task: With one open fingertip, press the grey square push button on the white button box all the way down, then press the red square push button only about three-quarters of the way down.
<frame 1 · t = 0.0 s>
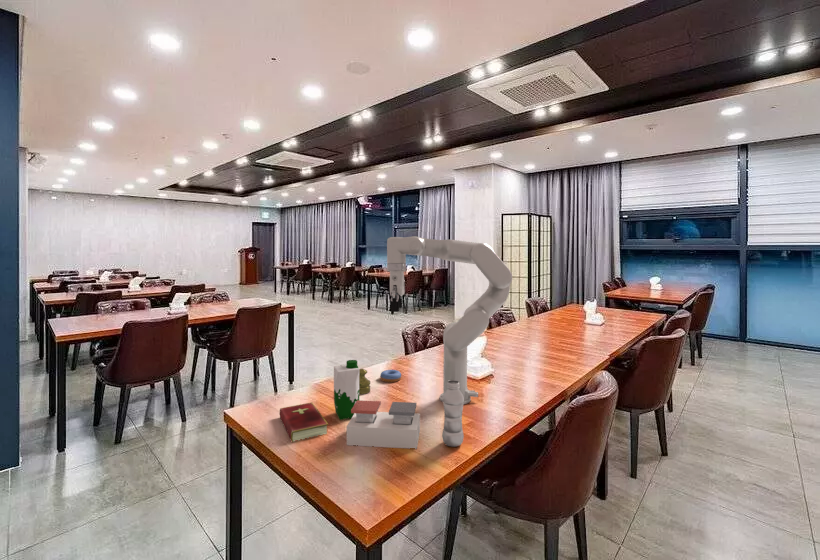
hand: (396, 309, 157), 37 cm above the table, tool pointing down, fingers open, 9 cm apart
red square push button: (366, 415, 125), point 7 cm above the table, slide at 0.0 cm
white button box: (384, 437, 125), on the table
doughnut: (390, 380, 183), on the table
gold rounded piece: (361, 392, 167), on the table
plastic bottle: (452, 444, 121), on the table
hardcover book: (302, 427, 134), on the table
milk carton: (346, 415, 143), on the table
grey square push button: (403, 416, 124), point 7 cm above the table, slide at 0.0 cm
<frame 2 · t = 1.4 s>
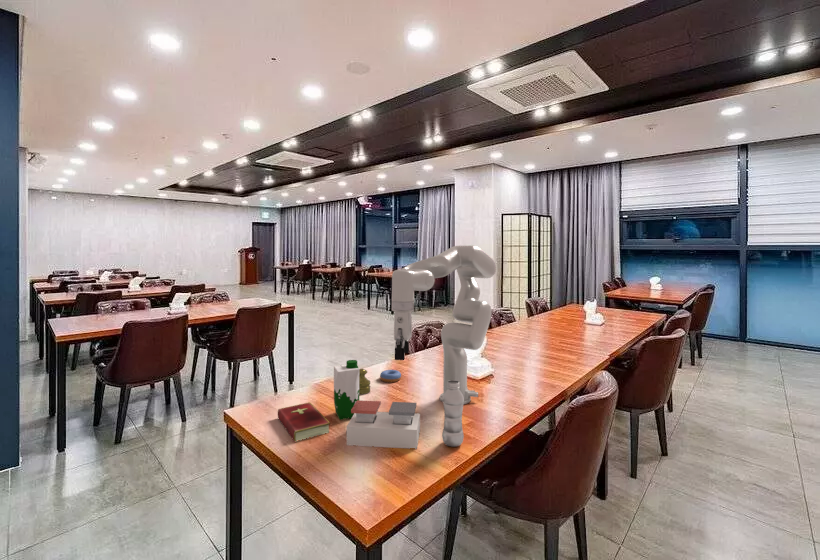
hand: (401, 356, 131), 25 cm above the table, tool pointing down, fingers open, 9 cm apart
nothing on the table moved.
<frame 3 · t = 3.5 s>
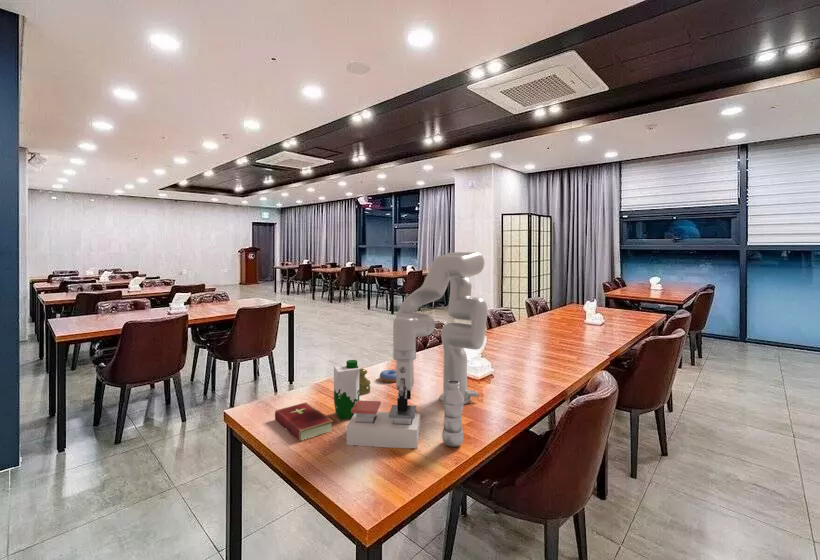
hand: (404, 404, 129), 9 cm above the table, tool pointing down, fingers open, 9 cm apart
grey square push button: (403, 419, 124), point 6 cm above the table, slide at 1.0 cm, touching gripper
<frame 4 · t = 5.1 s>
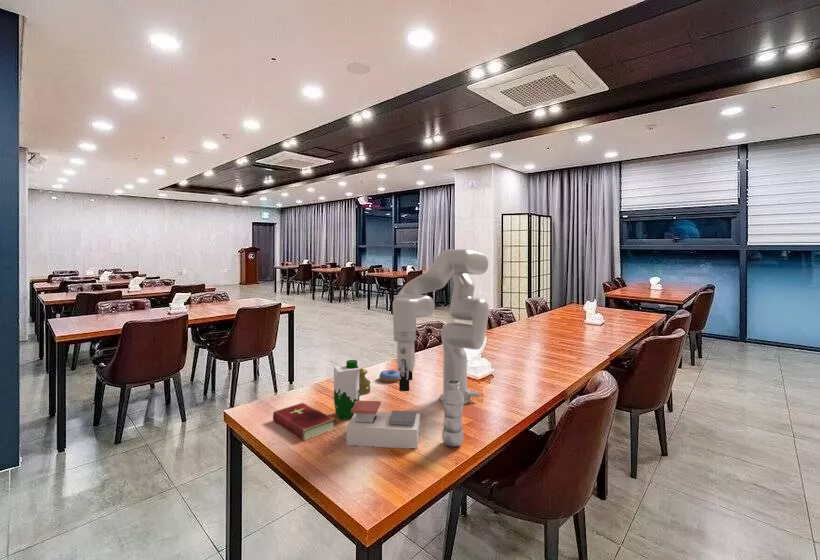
hand: (406, 385, 129), 16 cm above the table, tool pointing down, fingers open, 9 cm apart
grey square push button: (403, 425, 124), point 4 cm above the table, slide at 3.0 cm
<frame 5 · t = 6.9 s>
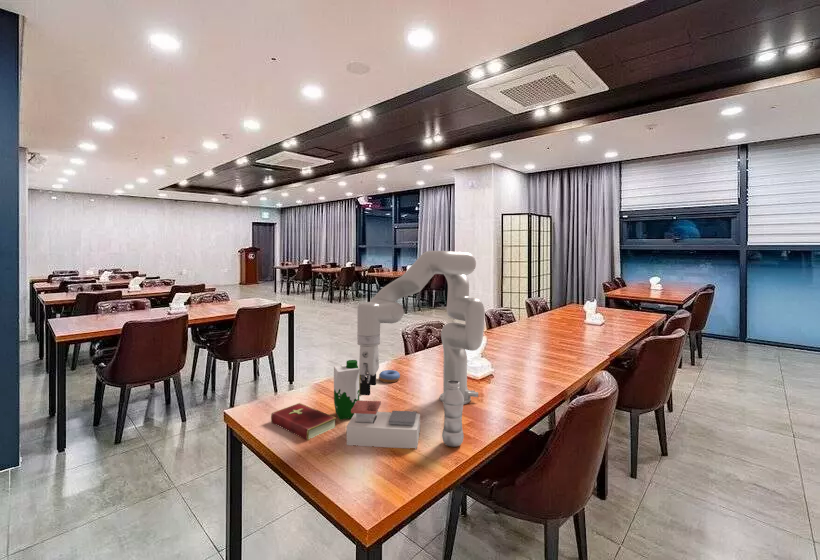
hand: (368, 389, 130), 14 cm above the table, tool pointing down, fingers open, 9 cm apart
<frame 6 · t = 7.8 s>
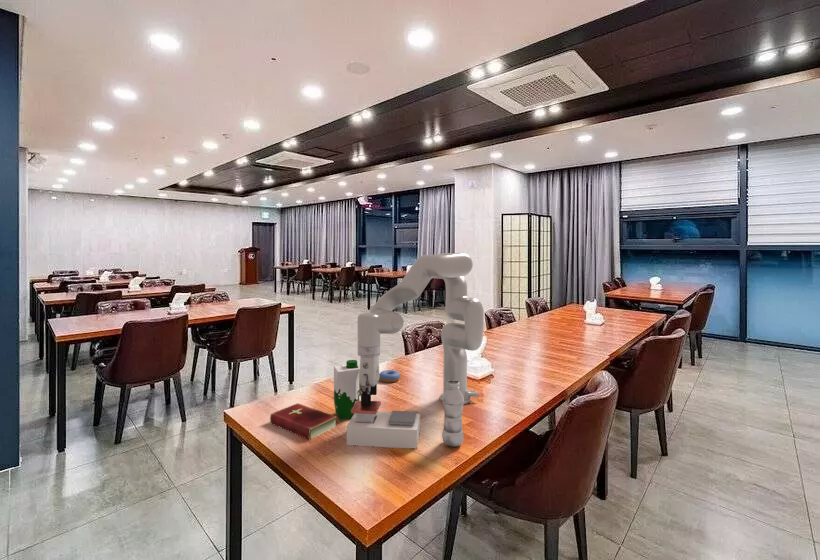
hand: (369, 399, 130), 10 cm above the table, tool pointing down, fingers open, 9 cm apart
red square push button: (366, 415, 125), point 7 cm above the table, slide at 0.0 cm, touching gripper
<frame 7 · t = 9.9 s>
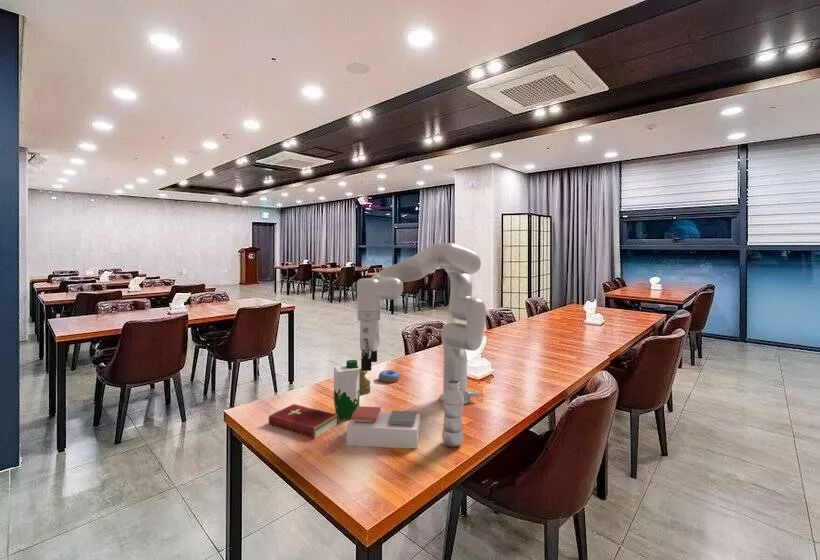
hand: (369, 366, 129), 22 cm above the table, tool pointing down, fingers open, 9 cm apart
red square push button: (366, 421, 126), point 5 cm above the table, slide at 2.1 cm
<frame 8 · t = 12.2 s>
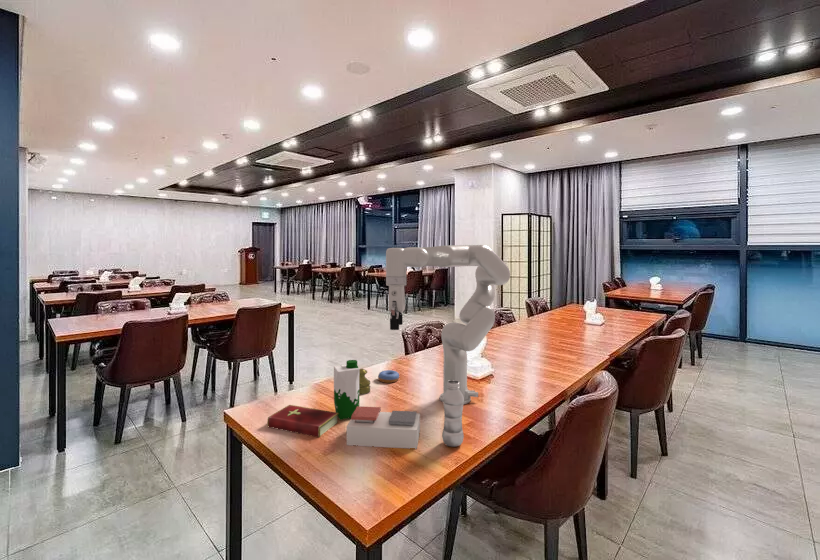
hand: (396, 327, 144), 32 cm above the table, tool pointing down, fingers open, 9 cm apart
at the end: grey square push button slide at 3.0 cm; red square push button slide at 2.1 cm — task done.
